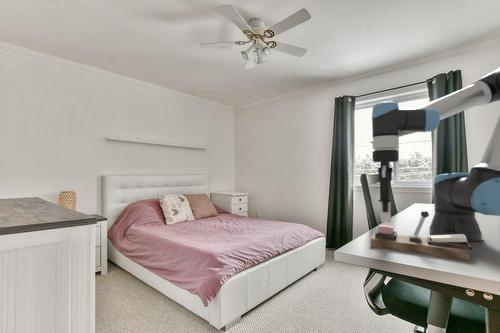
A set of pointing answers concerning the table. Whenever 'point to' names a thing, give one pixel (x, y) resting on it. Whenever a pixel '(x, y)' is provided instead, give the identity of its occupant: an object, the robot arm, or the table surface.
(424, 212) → the toggle lever
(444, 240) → the rocker switch
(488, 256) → the table surface
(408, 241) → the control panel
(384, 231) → the push button
